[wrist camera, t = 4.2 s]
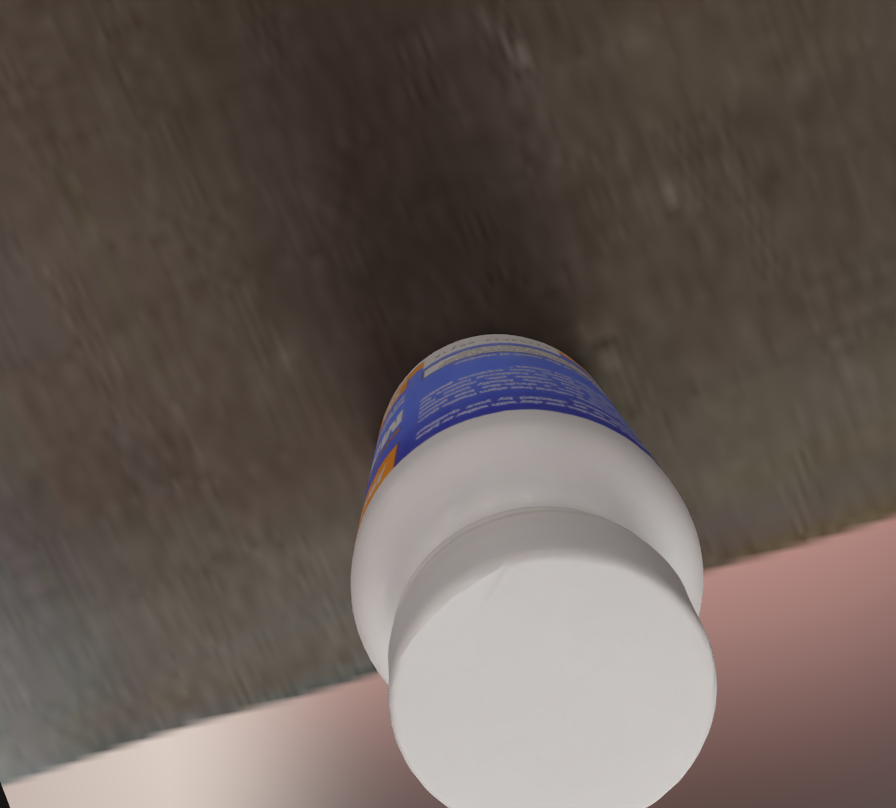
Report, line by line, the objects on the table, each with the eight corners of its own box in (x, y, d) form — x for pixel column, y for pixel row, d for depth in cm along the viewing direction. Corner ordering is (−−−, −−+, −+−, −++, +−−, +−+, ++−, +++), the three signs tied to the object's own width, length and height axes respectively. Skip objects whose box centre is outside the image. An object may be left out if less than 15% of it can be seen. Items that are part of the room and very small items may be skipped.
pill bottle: (357, 355, 19) (267, 536, 9) (594, 308, 18) (752, 446, 9) (407, 570, 20) (374, 919, 11) (628, 530, 20) (795, 849, 10)
